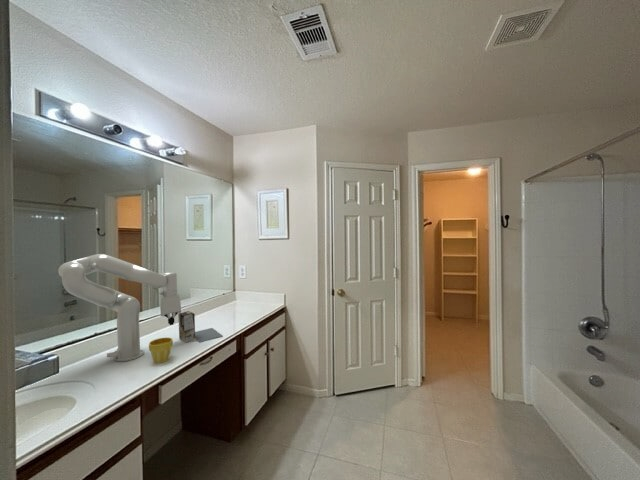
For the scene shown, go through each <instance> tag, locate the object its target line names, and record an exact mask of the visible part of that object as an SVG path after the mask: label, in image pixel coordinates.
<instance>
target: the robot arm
mask: <svg viewBox="0 0 640 480" xmlns="http://www.w3.org/2000/svg"><path fill="white" fill-rule="evenodd" d="M57 272H58V275H59V277H61V284H62V287H63V289H64V290H65V291H66V292H67V293H68V294H70V295H72V296H75V297H76V298H79V299H81V300H84V301H86V302H89V303H92V304H94V305H96V306H98V307H101V308H106V309H107V310H111V311H114V312H116V313H117V317H116V318H117V319H116V330H117V331H116V332H117V333H116V334H117V335H116V337H117V338H116V339H117V349H116V350H114V351H113V352H109V353H106V358H110V359H111V358H114V361H116V362H118V363H119V362H121V363H122V362H128V361H132V360H136V359H138V358H140V357H142V356H143V355H144V354H145V353H144V350H143V349H141V340H140V339H141V338H140V334H141V333H140V311H141V304H140V301H139V300H138V299H137V298H136V297H135V296H132V295H129V294H126V293H123V292H121V291H119V290H116V289H114V288H112V287H108V286H105V285H101V284H99V283H96V282H94V281H91V280H90V279H88V278H87V277H86V275H89V274H92V273H96V272H100V273H103V274H108V275H109V276H110V275H111V276H114V277H116V278H118V279H123V280H126V281H129V282H131V281H132V282H136V283H140V284H143V285H146V286H149V287H150V288H151V287H152V288H155V289H161V288H162V291H161V292H159V296H161V298H160V310H159V311H160V314H159V315H160V317H166V318H167V323H168V325H170V326H173V325H174V324H175V317H176V316H177V315H178V314H179V313H182V306H181V305H182V303H181V297H180V294H178V277H177V272H176V271H167V272H161V273H159V272H157V271H156V272H155V271H153V270H150V269H148V268H144V267H141V266H139V265H137V264H134V263H131V262H128V261H125V260H123V259H120V258H117V257H114V256H111V255H108V254H104V253H98V254H97V253H96V254H93V255H92V254H91V255H88V256H85V257H82V258H79V259H74V260H70V261H68V262H64V263H62V264H61V265H60V266H59V268H58V270H57Z"/></svg>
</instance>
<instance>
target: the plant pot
mask: <svg viewBox="0 0 640 480" xmlns="http://www.w3.org/2000/svg"><path fill="white" fill-rule="evenodd" d="M173 340H174V339H173V338H172V337H159V338H155V339H153V340H151V341H150V342H149V344H148V350H149V352H150V353H151V357H152V361H153V363H154V364H162V363H165V362H167V361H169V359H170V355H171V350H172V347H173V343H174V341H173Z"/></svg>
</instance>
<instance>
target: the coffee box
mask: <svg viewBox="0 0 640 480" xmlns="http://www.w3.org/2000/svg"><path fill="white" fill-rule="evenodd" d="M177 315H178V316H177V317H178V338H179V340H180V341H181V342H183V343H184V344H185V343H189V342H190V343H191V342H195V341H196V339H195V332H196V326H195V325H196V324H195V323H196V321H195V318H196V317H195V313H194V312H192V311H184V312H181V313H179V314H177Z"/></svg>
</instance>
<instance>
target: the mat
mask: <svg viewBox="0 0 640 480" xmlns="http://www.w3.org/2000/svg"><path fill="white" fill-rule="evenodd" d="M223 337H224V335H222V334H221V333H220V332H219V331H217V330H216V329H214V328H213V327H211V328H205V329H202V330H197V331H195V341H197V343H204V342H207V341H212V340H215V339H219V338H223Z"/></svg>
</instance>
